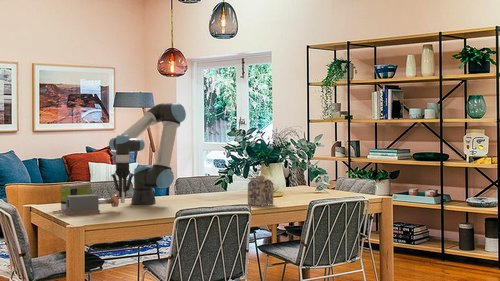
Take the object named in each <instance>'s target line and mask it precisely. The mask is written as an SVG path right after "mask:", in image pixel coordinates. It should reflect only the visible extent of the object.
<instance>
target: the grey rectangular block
mask: <svg viewBox="0 0 500 281" xmlns="http://www.w3.org/2000/svg"><path fill="white" fill-rule="evenodd" d="M119 198H120V197H119V194H111V197H110V198H99V205H107V204H108V205H110V204H111V205H110V206H111V207H112V208H116V207H118V206H119V204H120V203H119V202H120V200H119Z"/></svg>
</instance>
